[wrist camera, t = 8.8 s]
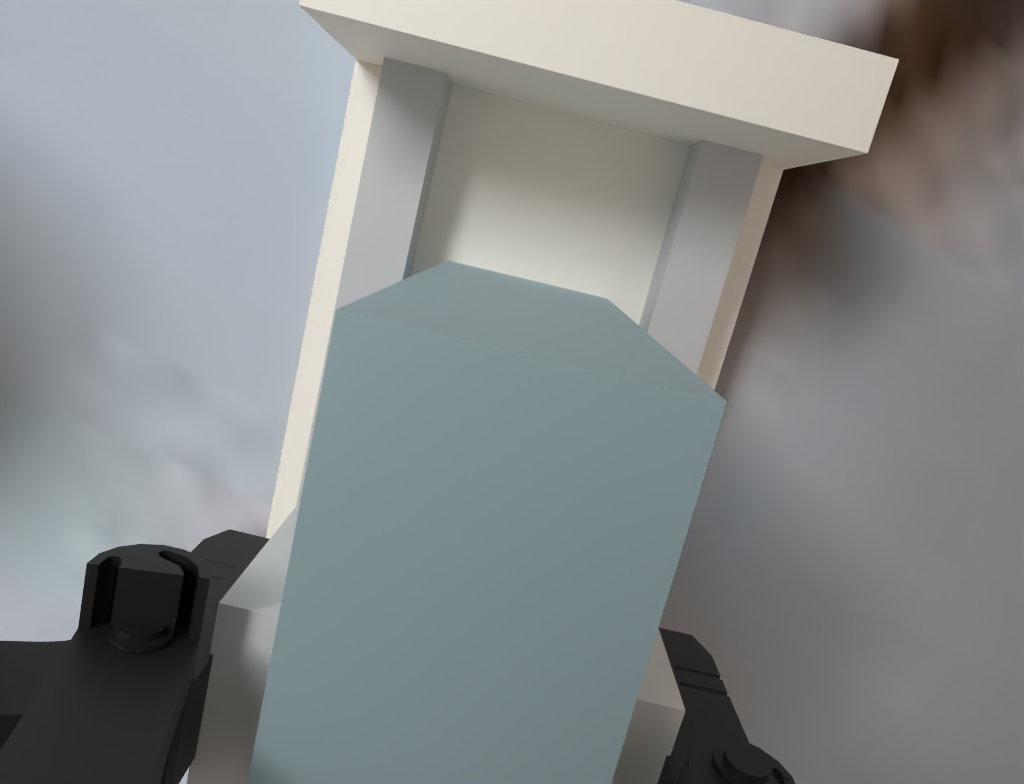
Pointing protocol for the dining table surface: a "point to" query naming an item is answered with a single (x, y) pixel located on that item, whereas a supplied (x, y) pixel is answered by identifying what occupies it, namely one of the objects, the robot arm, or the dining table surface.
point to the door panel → (481, 537)
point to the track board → (570, 159)
